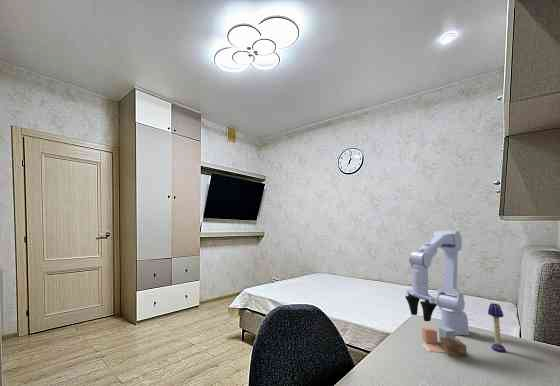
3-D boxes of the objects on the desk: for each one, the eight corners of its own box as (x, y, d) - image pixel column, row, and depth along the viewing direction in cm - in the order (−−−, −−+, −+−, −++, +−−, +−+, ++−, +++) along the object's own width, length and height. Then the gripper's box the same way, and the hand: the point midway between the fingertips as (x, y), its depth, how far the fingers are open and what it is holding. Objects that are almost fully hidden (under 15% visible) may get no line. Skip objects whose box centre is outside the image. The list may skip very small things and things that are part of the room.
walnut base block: (458, 349, 101) (457, 338, 101) (466, 357, 95) (466, 345, 95) (441, 348, 101) (440, 337, 102) (448, 356, 96) (447, 344, 96)
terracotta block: (433, 340, 108) (432, 327, 109) (437, 344, 104) (436, 331, 105) (422, 339, 109) (422, 326, 109) (426, 343, 105) (426, 330, 105)
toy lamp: (507, 354, 97) (504, 306, 99) (491, 351, 99) (488, 304, 101) (504, 348, 101) (501, 303, 103) (489, 346, 104) (486, 301, 106)
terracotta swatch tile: (438, 345, 103) (438, 344, 103) (445, 352, 98) (445, 351, 98) (422, 344, 104) (422, 343, 104) (428, 351, 98) (428, 350, 98)
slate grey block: (448, 339, 109) (447, 327, 109) (455, 344, 105) (455, 330, 105) (439, 340, 108) (438, 327, 109) (446, 344, 104) (445, 331, 105)
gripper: (400, 278, 114) (400, 311, 112) (423, 285, 99) (423, 323, 97) (415, 279, 115) (415, 312, 113) (440, 286, 101) (441, 324, 98)
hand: (420, 317), depth 105 cm, fingers open, 7 cm apart
